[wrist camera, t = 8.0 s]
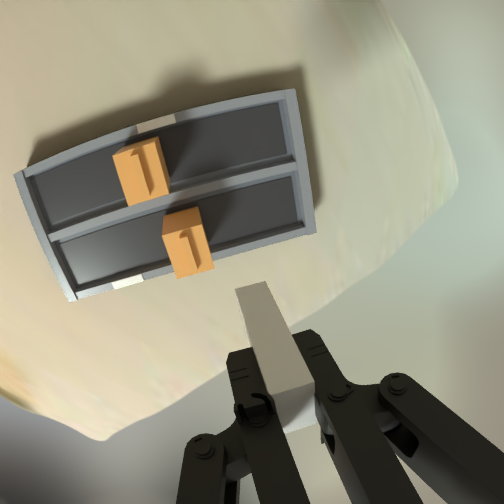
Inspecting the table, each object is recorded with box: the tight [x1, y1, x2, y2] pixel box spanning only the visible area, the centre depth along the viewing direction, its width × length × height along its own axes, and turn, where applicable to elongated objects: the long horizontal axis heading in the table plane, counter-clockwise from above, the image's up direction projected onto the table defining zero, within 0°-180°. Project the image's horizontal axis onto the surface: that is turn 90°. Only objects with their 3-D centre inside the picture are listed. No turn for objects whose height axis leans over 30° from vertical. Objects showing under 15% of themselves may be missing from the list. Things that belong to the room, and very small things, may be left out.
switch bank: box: [14, 88, 317, 303], centre depth 28 cm, size 14×26×3 cm, turn 101°
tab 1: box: [113, 136, 170, 206], centre depth 23 cm, size 4×3×5 cm
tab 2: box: [162, 206, 214, 279], centre depth 27 cm, size 4×3×5 cm
